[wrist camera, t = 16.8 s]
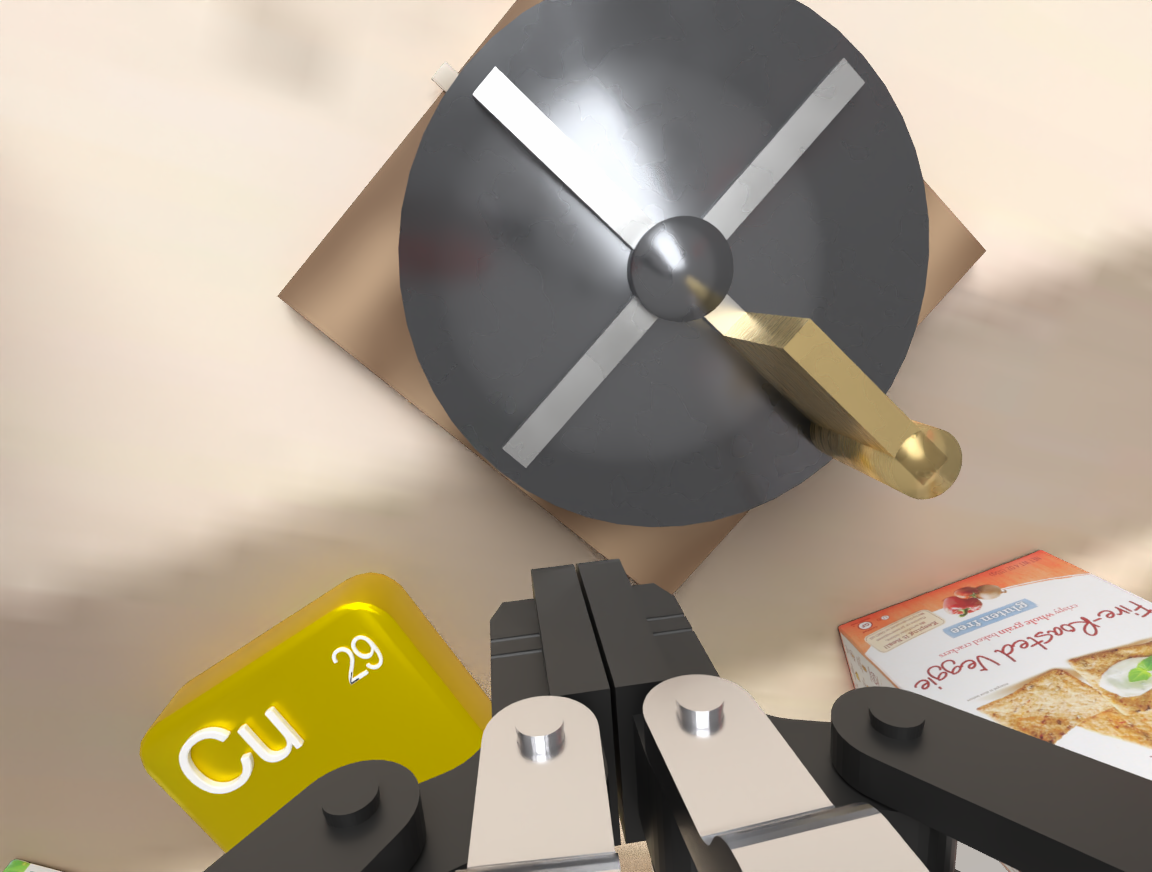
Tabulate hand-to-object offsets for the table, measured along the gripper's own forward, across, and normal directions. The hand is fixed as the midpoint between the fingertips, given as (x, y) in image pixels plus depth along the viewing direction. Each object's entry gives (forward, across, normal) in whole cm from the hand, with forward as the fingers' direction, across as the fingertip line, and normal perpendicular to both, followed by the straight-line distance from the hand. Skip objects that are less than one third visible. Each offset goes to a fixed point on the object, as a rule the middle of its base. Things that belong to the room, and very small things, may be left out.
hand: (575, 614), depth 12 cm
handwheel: (+21, -8, -5) cm, 23 cm away
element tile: (+26, +12, +20) cm, 35 cm away
